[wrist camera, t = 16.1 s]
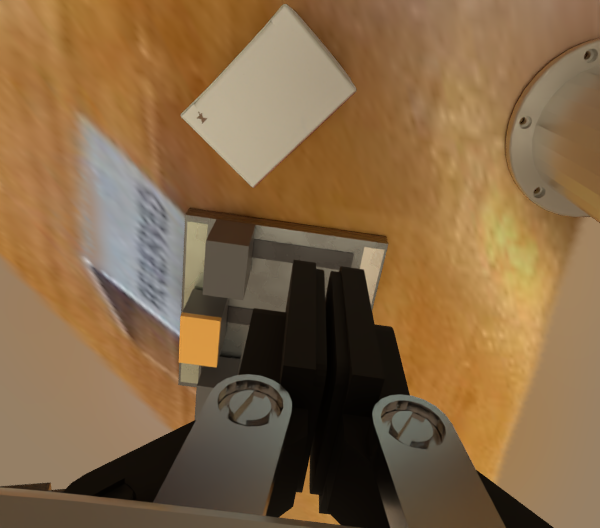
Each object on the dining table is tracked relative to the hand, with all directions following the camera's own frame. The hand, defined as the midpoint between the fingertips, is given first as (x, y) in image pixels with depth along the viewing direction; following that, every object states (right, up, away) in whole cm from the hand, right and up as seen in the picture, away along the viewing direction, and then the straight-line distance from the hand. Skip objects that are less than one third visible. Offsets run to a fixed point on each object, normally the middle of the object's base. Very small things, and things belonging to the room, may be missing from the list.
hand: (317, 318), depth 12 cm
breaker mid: (-8, -3, +30) cm, 31 cm away
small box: (-2, +14, +24) cm, 28 cm away
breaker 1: (-6, +3, +27) cm, 28 cm away
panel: (-2, -3, +32) cm, 32 cm away
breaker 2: (-7, -9, +33) cm, 35 cm away
